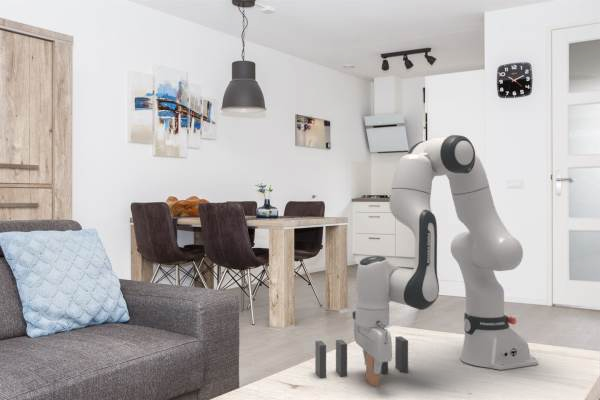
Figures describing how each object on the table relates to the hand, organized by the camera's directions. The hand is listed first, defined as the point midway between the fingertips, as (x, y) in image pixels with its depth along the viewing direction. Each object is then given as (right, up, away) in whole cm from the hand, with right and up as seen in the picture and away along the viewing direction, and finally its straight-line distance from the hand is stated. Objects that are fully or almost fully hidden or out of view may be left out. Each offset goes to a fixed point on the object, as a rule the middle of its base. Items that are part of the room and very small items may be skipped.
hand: (372, 369), depth 151 cm
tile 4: (+10, -4, +11) cm, 15 cm away
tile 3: (+4, -4, +10) cm, 11 cm away
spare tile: (0, -4, 0) cm, 4 cm away
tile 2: (-8, -4, +7) cm, 11 cm away
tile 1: (-14, -4, +6) cm, 15 cm away
